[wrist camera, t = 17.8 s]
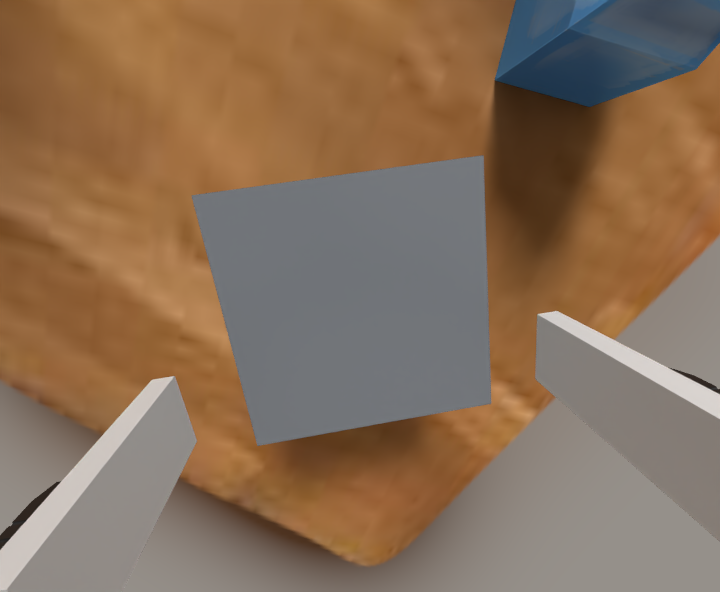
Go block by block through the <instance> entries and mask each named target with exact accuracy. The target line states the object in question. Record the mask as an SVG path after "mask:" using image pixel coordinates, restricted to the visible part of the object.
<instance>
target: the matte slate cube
mask: <svg viewBox="0 0 720 592" xmlns="http://www.w3.org/2000/svg"><path fill="white" fill-rule="evenodd" d="M192 199H193V203H194V207H195V211H196V214H197V218H198V222H199V226H200V229H201V233H202V237H203V241H204V245H205V248H206V252H207V256H208V260H209V264H210V267H211V271H212V275H213V279H214V283H215V286H216V290H217V294H218V298H219V302H220V305H221V309H222V313H223V317H224V320H225V324H226V328H227V332H228V336H229V339H230V343H231V347H232V351H233V355H234V358H235V362H236V366H237V370H238V374H239V377H240V381H241V385H242V389H243V393H244V396H245V400H246V404H247V408H248V412H249V415H250V419H251V423H252V427H253V430H254V434H255V438H256V442H257V446H260V445H265V444H271V443H276V442H282V441H287V440H293V439H298V438H304V437H309V436H315V435H320V434H326V433H331V432H337V431H343V430H348V429H354V428H359V427H365V426H370V425H376V424H381V423H387V422H392V421H398V420H403V419H409V418H414V417H420V416H425V415H431V414H436V413H442V412H447V411H453V410H459V409H464V408H470V407H475V406H481V405H486V404H491V380H490V348H489V316H488V284H487V252H486V220H485V188H484V156H483V155H482V156H475V157H468V158H461V159H453V160H446V161H439V162H431V163H424V164H417V165H410V166H402V167H395V168H388V169H381V170H373V171H366V172H359V173H351V174H344V175H337V176H330V177H322V178H315V179H308V180H301V181H293V182H286V183H279V184H271V185H264V186H257V187H250V188H242V189H235V190H228V191H221V192H213V193H206V194H199V195H192Z"/></svg>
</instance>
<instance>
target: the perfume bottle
mask: <svg viewBox="0 0 720 592" xmlns="http://www.w3.org/2000/svg"><path fill="white" fill-rule="evenodd" d="M719 43H720V0H516V2H515V6H514V10H513V13H512V17H511V21H510V25H509V28H508V32H507V36H506V40H505V43H504V47H503V51H502V55H501V58H500V62H499V66H498V70H497V73H496V77H495V81H499V82H502V83H506V84H509V85H513V86H516V87H520V88H524V89H527V90H531V91H534V92H538V93H541V94H545V95H549V96H552V97H556V98H559V99H563V100H566V101H570V102H574V103H577V104H581V105H584V106H588V107H590V106H593V105H596V104H599V103H602V102H605V101H607V100H610V99H613V98H616V97H619V96H622V95H624V94H627V93H630V92H633V91H636V90H639V89H641V88H644V87H647V86H650V85H653V84H656V83H658V82H661V81H664V80H667V79H670V78H673V77H675V76H678V75H681V74H684V73H687V72H690V71H692V70H695V69H697V68H698V67H699V65H700V64H701V63H702V62H703V61H704V60H705V59H706V57H707V56H708V55H709V54H710V53H711V52H712V51H713V50H714V48H715V47H716V46H717V45H718V44H719Z"/></svg>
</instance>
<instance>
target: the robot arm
mask: <svg viewBox="0 0 720 592" xmlns="http://www.w3.org/2000/svg"><path fill="white" fill-rule="evenodd" d="M535 379H536V380H537V381H538V382H539V383H540V384H541V385H543V386H544V387H545V388H546V389H547V390H548V391H549V392H550V393H552V394H553V395H554V396H555V397H556V398H557V399H558V400H560V401H561V402H562V403H563V404H564V405H565V406H566V407H568V408H569V409H570V410H571V411H572V412H573V413H574V414H575V415H577V416H578V417H579V418H580V419H581V420H582V421H583V422H585V423H586V424H587V425H588V426H589V427H590V428H591V429H593V430H594V431H595V432H596V433H597V434H598V435H599V436H600V437H602V438H603V439H604V440H605V441H606V442H607V443H608V444H609V445H611V446H612V447H613V448H614V449H615V450H616V451H618V452H619V453H620V454H621V455H622V456H623V457H624V458H625V459H627V460H628V461H629V462H630V463H631V464H632V465H633V466H634V467H636V468H637V469H638V470H639V471H640V472H641V473H643V474H644V475H645V476H646V477H647V478H648V479H649V480H650V481H651V482H653V483H654V484H655V485H656V486H657V487H659V488H660V489H661V490H662V491H663V492H664V493H665V494H666V495H667V496H668V497H670V498H671V499H672V500H673V501H674V502H675V503H677V504H678V505H679V506H680V507H681V508H682V509H683V510H684V511H686V512H687V513H688V514H689V515H690V516H691V517H692V518H693V519H695V520H696V521H697V522H698V523H699V524H700V525H701V526H703V527H704V528H705V529H706V530H707V531H708V532H709V533H710V534H712V535H713V536H714V537H715V538H716V539H717V540H718V541H720V389H717V387H716V386H714V385H712V384H710V383H708V382H706V381H704V380H702V379H700V378H698V377H696V376H694V375H690V374H687V373H684V372H681V371H678V370H675V369H672V368H667V367H665V366H663V365H661V364H660V363H658V362H656V361H654V360H652V359H650V358H648V357H646V356H644V355H642V354H640V353H638V352H636V351H634V350H632V349H630V348H628V347H626V346H624V345H622V344H620V343H618V342H617V341H615V340H613V339H611V338H609V337H607V336H605V335H603V334H601V333H599V332H597V331H595V330H593V329H591V328H589V327H587V326H585V325H583V324H581V323H579V322H577V321H575V320H574V319H572V318H570V317H568V316H566V315H564V314H562V313H560V312H558V311H554V312H548V313H542V314H537V342H536V376H535ZM196 442H197V440H196V437H195V434H194V431H193V428H192V425H191V422H190V419H189V416H188V413H187V410H186V407H185V404H184V402H183V399H182V396H181V393H180V390H179V387H178V384H177V381H176V378H175V376H171V377H166V378H160V379H154V380H151V381H150V383H149V384H148V385H147V386H146V387H145V388H144V389H143V390H142V392H141V393H140V394H139V395H138V396H137V397H136V398H135V399H134V401H133V402H132V403H131V404H130V405H129V406H128V407H127V408H126V410H125V411H124V412H123V413H122V414H121V415H120V416H119V417H118V418H117V420H116V421H115V422H114V423H113V424H112V425H111V426H110V427H109V429H108V430H107V431H106V432H105V433H104V434H103V435H102V436H101V438H100V439H99V440H98V441H97V442H96V443H95V444H94V445H93V447H92V448H91V449H90V450H89V451H88V452H87V453H86V454H85V456H84V457H83V458H82V459H81V460H80V461H79V462H78V463H77V465H76V466H75V467H74V468H73V469H72V470H71V471H70V472H69V474H68V475H67V476H66V477H65V478H64V479H63V480H62V481H60V482H56V483H55V484H54V485H52V486H51V487H50V488H49V489H47V490H46V491H45V492H43V493H42V494H41V495H39V496H38V497H37V498H35V499H34V500H33V501H32V502H31V503H30V504H29V505H28V506H27V507H26V508H25V509H24V510H23V511H22V513H21V514H20V515H19V516H18V517H17V518H16V519H15V520H14V521H13V524H12V526H9V527H8V528H7V529H6V530H5V531H4V532H3V533H2V534H1V535H0V592H122V591H123V589H124V587H125V585H126V583H127V581H128V579H129V577H130V575H131V573H132V571H133V569H134V567H135V565H136V563H137V561H138V559H139V557H140V555H141V553H142V551H143V549H144V547H145V545H146V543H147V541H148V539H149V537H150V535H151V533H152V531H153V529H154V527H155V524H156V523H157V521H158V519H159V517H160V514H161V513H162V511H163V508H164V507H165V505H166V503H167V500H168V498H169V496H170V494H171V492H172V490H173V488H174V486H175V484H176V482H177V480H178V478H179V476H180V474H181V472H182V470H183V468H184V466H185V464H186V462H187V460H188V458H189V456H190V454H191V452H192V450H193V448H194V446H195V444H196Z"/></svg>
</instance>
